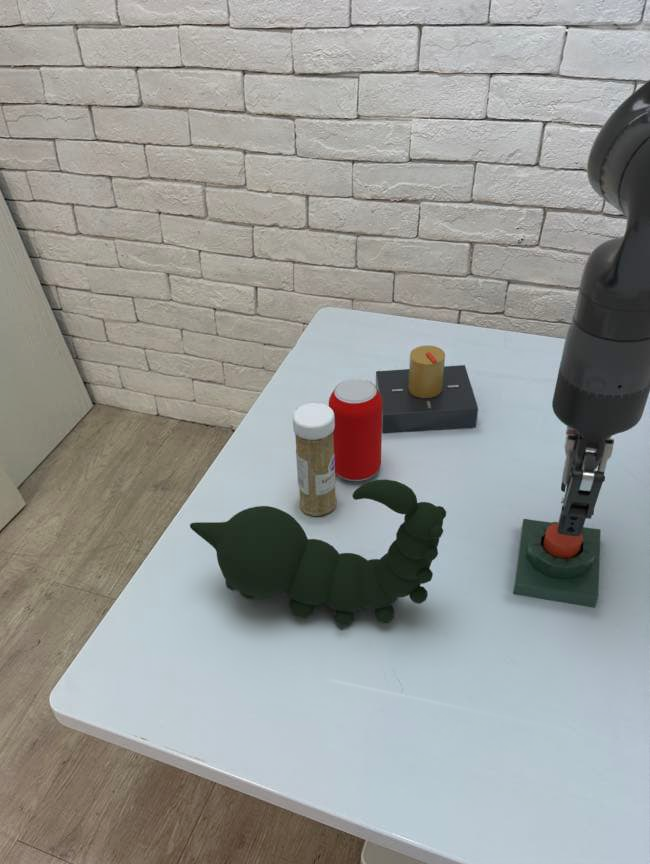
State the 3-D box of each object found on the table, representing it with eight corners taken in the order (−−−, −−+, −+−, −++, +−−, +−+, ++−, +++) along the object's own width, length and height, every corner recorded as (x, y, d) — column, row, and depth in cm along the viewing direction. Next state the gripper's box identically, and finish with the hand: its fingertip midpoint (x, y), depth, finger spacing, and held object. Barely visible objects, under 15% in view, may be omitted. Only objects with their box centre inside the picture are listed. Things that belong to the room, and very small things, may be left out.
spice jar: (336, 517, 94) (334, 425, 85) (297, 517, 95) (291, 426, 86) (336, 491, 98) (334, 400, 88) (299, 491, 98) (293, 401, 89)
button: (544, 531, 85) (547, 519, 84) (580, 537, 84) (583, 525, 83) (542, 555, 83) (544, 543, 82) (579, 561, 82) (582, 549, 80)
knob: (402, 383, 107) (404, 348, 103) (433, 376, 107) (436, 340, 103) (416, 401, 104) (419, 365, 100) (448, 393, 104) (451, 357, 100)
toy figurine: (425, 593, 87) (207, 547, 92) (457, 460, 73) (199, 415, 78) (413, 662, 81) (180, 609, 86) (445, 531, 67) (165, 477, 72)
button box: (521, 529, 90) (525, 506, 88) (597, 540, 88) (604, 517, 85) (512, 594, 84) (517, 572, 81) (594, 608, 81) (602, 585, 79)
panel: (462, 383, 111) (465, 363, 108) (475, 427, 104) (478, 407, 101) (375, 389, 112) (375, 370, 109) (382, 433, 105) (383, 413, 102)
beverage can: (379, 486, 97) (381, 405, 89) (328, 485, 99) (325, 405, 90) (381, 454, 102) (383, 374, 93) (332, 453, 103) (330, 374, 94)
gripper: (657, 422, 62) (609, 569, 74) (653, 326, 72) (611, 470, 83) (555, 411, 64) (524, 556, 76) (564, 320, 74) (536, 461, 86)
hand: (570, 510), depth 80 cm, fingers open, 5 cm apart
